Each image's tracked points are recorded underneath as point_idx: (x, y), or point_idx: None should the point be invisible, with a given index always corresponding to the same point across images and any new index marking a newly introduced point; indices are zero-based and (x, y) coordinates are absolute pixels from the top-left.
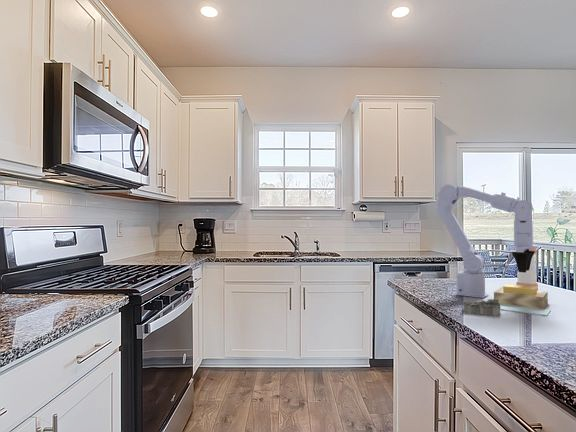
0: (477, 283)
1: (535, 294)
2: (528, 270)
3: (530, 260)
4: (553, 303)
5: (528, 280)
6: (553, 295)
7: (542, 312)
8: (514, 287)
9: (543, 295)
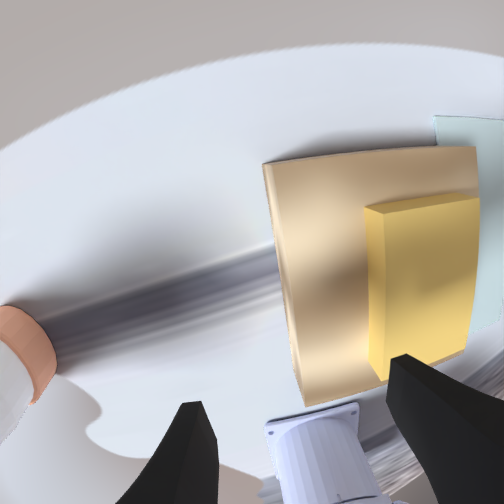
0: (366, 461)
1: (427, 196)
2: (200, 402)
3: (176, 492)
4: (229, 142)
5: (10, 369)
6: (4, 231)
7: (488, 138)
8: (472, 300)
9: (430, 152)
